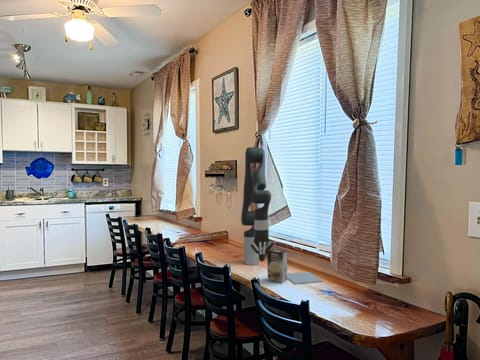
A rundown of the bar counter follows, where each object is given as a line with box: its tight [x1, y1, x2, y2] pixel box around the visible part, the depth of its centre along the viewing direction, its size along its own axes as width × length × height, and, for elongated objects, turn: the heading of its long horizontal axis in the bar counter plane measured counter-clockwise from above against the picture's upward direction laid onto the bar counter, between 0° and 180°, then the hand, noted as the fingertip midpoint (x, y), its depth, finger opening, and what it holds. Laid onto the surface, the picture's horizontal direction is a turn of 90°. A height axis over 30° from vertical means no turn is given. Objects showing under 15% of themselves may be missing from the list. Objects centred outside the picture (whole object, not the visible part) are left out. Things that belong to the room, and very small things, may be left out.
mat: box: [287, 271, 324, 285], centre depth 197 cm, size 18×16×1 cm
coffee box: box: [267, 248, 288, 284], centre depth 193 cm, size 9×6×16 cm
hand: (261, 261), depth 191 cm, fingers closed
